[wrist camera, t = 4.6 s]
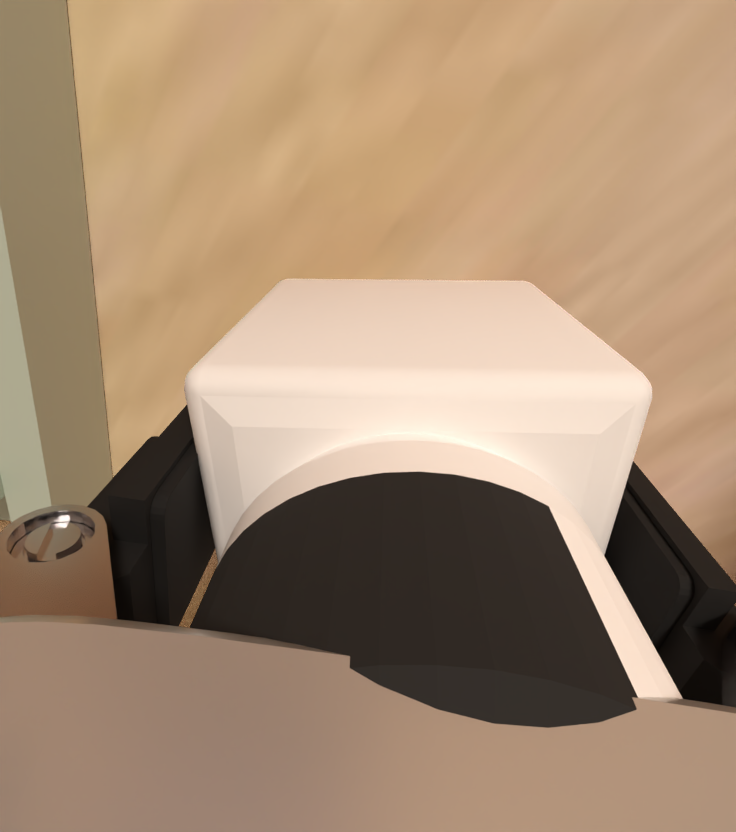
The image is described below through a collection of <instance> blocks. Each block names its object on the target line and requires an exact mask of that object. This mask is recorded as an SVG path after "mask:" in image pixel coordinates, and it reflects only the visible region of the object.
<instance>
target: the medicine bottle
mask: <svg viewBox="0 0 736 832" xmlns="http://www.w3.org/2000/svg"><path fill="white" fill-rule="evenodd" d="M184 391H185V396H186V401H187V406H188V411H189V416H190V421H191V426H192V432H193V437H194V442H195V447H196V452H197V454H198V461H199V467H200V472H201V478H202V483H203V488H204V493H205V498H206V503H207V508H208V513H209V518H210V524H211V529H212V534H213V539H214V544H215V549H216V554H217V559H218V565H217V567H216V569H215V572H214V574H213V576H212V578H211V581H210V583H209V585H208V587H207V590H206V592H205V594H204V597H203V599H202V601H201V603H200V606H199V608H198V610H197V612H196V615H195V617H194V619H193V621H192V624H191V626H190V628H194V629H202V630H210V631H218V632H226V633H234V634H241V635H248V636H255V637H262V638H268V639H272V640H277V641H282V642H287V643H292V644H298V645H302V646H307V647H311V648H316V649H320V650H324V651H328V652H333V653H338V654H343V655H347V656H350V669H352V670H354V671H356V672H357V673H359V674H361V675H362V676H364V677H366V678H368V679H369V680H371V681H373V682H374V683H376V684H378V685H380V686H382V687H385V688H387V689H389V690H392V691H394V692H397V693H399V694H402V695H404V696H407V697H409V698H411V699H414V700H416V701H419V702H421V703H423V704H426V705H428V706H431V707H433V708H435V709H438V710H442V711H446V712H450V713H454V714H458V715H462V716H466V717H470V718H474V719H478V720H482V721H486V722H490V723H494V724H505V725H518V726H531V727H544V728H552V727H561V726H571V725H580V724H590V723H599V722H602V721H605V720H608V719H611V718H614V717H617V716H620V715H623V714H626V713H629V712H632V711H634V710H637V708H636V706H635V703H634V701H633V698H632V697H635V698H641V697H661V698H679V699H683V698H682V696H681V694H680V693H679V691H678V689H677V687H676V685H675V683H674V682H673V680H672V678H671V676H670V674H669V673H668V671H667V669H666V667H665V665H664V664H663V662H662V660H661V658H660V656H659V654H658V653H657V651H656V649H655V647H654V645H653V644H652V642H651V640H650V638H649V636H648V634H647V633H646V631H645V629H644V627H643V625H642V624H641V622H640V620H639V618H638V616H637V615H636V613H635V611H634V609H633V607H632V605H631V604H630V602H629V600H628V598H627V596H626V595H625V593H624V591H623V589H622V587H621V585H620V584H619V582H618V580H617V578H616V576H615V575H614V573H613V571H612V569H611V567H610V566H609V564H608V562H607V560H606V558H605V556H604V555H605V552H606V548H607V545H608V542H609V539H610V535H611V532H612V529H613V525H614V522H615V519H616V515H617V512H618V509H619V506H620V502H621V499H622V496H623V492H624V489H625V486H626V483H627V479H628V476H629V473H630V469H631V466H632V463H633V459H634V456H635V453H636V450H637V446H638V443H639V440H640V436H641V433H642V430H643V427H644V423H645V420H646V417H647V413H648V410H649V407H650V404H651V400H652V387H651V384H650V382H649V380H648V379H647V378H646V377H645V375H644V374H643V373H642V372H641V371H639V370H638V369H637V368H636V367H634V366H633V365H632V364H631V363H629V362H628V361H627V360H626V359H625V358H623V357H622V356H621V355H620V354H618V353H617V352H616V351H615V350H613V349H612V348H611V347H610V346H608V345H607V344H606V343H605V342H603V341H602V340H601V339H600V338H599V337H597V336H596V335H595V334H594V333H592V332H591V331H590V330H589V329H587V328H586V327H585V326H584V325H582V324H581V323H580V322H579V321H577V320H576V319H575V318H574V317H573V316H571V315H570V314H569V313H568V312H566V311H565V310H564V309H563V308H561V307H560V306H559V305H558V304H556V303H555V302H554V301H553V300H551V299H550V298H549V297H548V296H547V295H545V294H544V293H543V292H542V291H540V290H539V289H538V288H537V287H535V286H534V285H533V284H532V283H530V282H526V281H492V280H376V279H284V280H281V281H280V282H279V283H277V284H276V285H275V286H274V287H273V288H272V289H271V290H270V291H269V292H268V293H267V294H266V295H265V296H264V297H263V298H262V299H261V300H260V301H259V302H258V303H257V304H256V305H255V306H254V307H253V308H252V309H251V310H250V311H249V312H248V313H247V314H246V315H245V316H244V317H243V318H242V319H241V320H240V321H239V322H238V323H237V324H236V325H235V326H234V327H233V328H232V329H231V330H230V331H229V332H228V333H227V334H226V335H225V336H224V337H223V338H222V339H221V340H220V341H219V342H218V343H217V344H216V345H215V346H214V347H213V348H212V349H211V350H210V351H209V352H208V353H207V354H205V355H204V356H203V357H202V358H201V359H200V360H199V361H198V362H197V363H196V364H195V365H194V366H193V368H192V369H191V370H190V371H189V372H188V373H187V375H186V379H185V388H184Z"/></svg>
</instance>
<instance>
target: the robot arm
mask: <svg viewBox="0 0 736 832" xmlns="http://www.w3.org/2000/svg"><path fill="white" fill-rule="evenodd" d="M214 549H215V544H214V539H213V534H212V529H211V524H210V518H209V513H208V508H207V503H206V498H205V493H204V488H203V483H202V478H201V472H200V467H199V461H198V454H197V452H196V447H195V442H194V437H193V432H192V426H191V421H190V416H189V411H188V406H187V405H186V406H185V408H184V409H183V410H182V411H181V412H180V413H179V414H178V415H177V417H176V418H175V419H174V420H173V421H172V422H171V423H170V425H169V426H168V427H167V428H166V429H165V430H164V431H163V433H162V434H161V435H160V436H159V437H157V436H154V437H151V438H150V439H148V440H147V441H146V442H145V443H144V444H143V446H142V447H141V448H140V449H139V450H138V451H137V452H136V453H135V454H134V455H133V457H132V458H131V459H130V460H129V461H128V462H127V463H126V464H125V465H124V466H123V468H122V469H121V470H120V471H119V472H118V473H117V474H116V475H115V476H114V477H113V479H112V480H111V481H110V482H109V483H108V484H107V485H106V486H105V487H104V488H103V490H102V491H101V492H100V493H99V494H98V495H97V496H96V497H95V498H94V499H93V501H92V502H91V503H90V504H89V505H88V506H87V507H86V506H82V505H72V504H66V505H54V506H50V507H46V508H41V509H37V510H35V511H32V512H30V513H28V514H25V515H23V516H21V517H19V518H18V519H16V520H14V521H13V522H11V523H10V524H8V525H7V526H6V527H5V528H4V529H3V530H2V531H1V532H0V832H736V607H735V605H734V604H735V603H736V584H735V583H734V582H733V581H732V580H731V578H730V577H729V576H728V575H727V574H726V572H725V571H724V570H723V569H722V568H721V566H720V565H719V564H718V563H717V562H716V560H715V559H714V558H713V557H712V556H711V554H710V553H709V552H708V551H707V550H706V548H705V547H704V546H703V545H702V543H701V542H700V541H699V540H698V539H697V537H696V536H695V535H694V534H693V533H692V531H691V530H690V529H689V528H688V527H687V525H686V524H685V523H684V522H683V521H682V519H681V518H680V517H679V516H678V515H677V513H676V512H675V511H674V510H673V509H672V507H671V506H670V505H669V504H668V502H667V501H666V500H665V499H664V498H663V496H662V495H661V494H660V493H659V492H658V490H657V489H656V488H655V487H654V486H653V484H652V483H651V482H650V481H649V480H648V478H647V477H646V476H645V475H644V474H643V472H642V471H641V470H640V469H639V468H638V466H637V465H636V464H635V463H634V461H633V463H632V466H631V469H630V473H629V476H628V479H627V483H626V486H625V489H624V492H623V496H622V499H621V502H620V506H619V509H618V512H617V515H616V519H615V522H614V525H613V529H612V532H611V535H610V539H609V542H608V545H607V548H606V552H605V555H604V556H605V558H606V560H607V562H608V564H609V566H610V567H611V569H612V571H613V573H614V575H615V576H616V578H617V580H618V582H619V584H620V585H621V587H622V589H623V591H624V593H625V595H626V596H627V598H628V600H629V602H630V604H631V605H632V607H633V609H634V611H635V613H636V615H637V616H638V618H639V620H640V622H641V624H642V625H643V627H644V629H645V631H646V633H647V634H648V636H649V638H650V640H651V642H652V644H653V645H654V647H655V649H656V651H657V653H658V654H659V656H660V658H661V660H662V662H663V664H664V665H665V667H666V669H667V671H668V673H669V674H670V676H671V678H672V680H673V682H674V683H675V685H676V687H677V689H678V691H679V693H680V694H681V696H682V698H683V699H679V698H661V697H641V698H635V697H632V698H633V701H634V703H635V706H636V708H637V710H634V711H632V712H629V713H626V714H623V715H620V716H617V717H614V718H611V719H608V720H605V721H602V722H599V723H590V724H580V725H571V726H561V727H552V728H544V727H531V726H518V725H505V724H494V723H490V722H486V721H482V720H478V719H474V718H470V717H466V716H462V715H458V714H454V713H450V712H446V711H442V710H438V709H435V708H433V707H431V706H428V705H426V704H423V703H421V702H419V701H416V700H414V699H411V698H409V697H407V696H404V695H402V694H399V693H397V692H394V691H392V690H389V689H387V688H385V687H382V686H380V685H378V684H376V683H374V682H373V681H371V680H369V679H368V678H366V677H364V676H362V675H361V674H359V673H357V672H356V671H354V670H352V669H350V656H347V655H343V654H338V653H333V652H328V651H324V650H320V649H316V648H311V647H307V646H302V645H298V644H292V643H287V642H282V641H277V640H272V639H268V638H262V637H255V636H248V635H241V634H234V633H226V632H218V631H210V630H202V629H194V628H186V627H179V624H180V622H181V620H182V618H183V616H184V613H185V611H186V609H187V607H188V605H189V603H190V601H191V599H192V596H193V594H194V592H195V590H196V588H197V586H198V584H199V581H200V579H201V577H202V575H203V573H204V571H205V569H206V567H207V564H208V562H209V560H210V558H211V556H212V554H213V552H214Z"/></svg>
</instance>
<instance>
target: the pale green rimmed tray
mask: <svg viewBox="0 0 736 832" xmlns="http://www.w3.org/2000/svg"><path fill="white" fill-rule="evenodd" d="M112 479H113V478H112V468H111V458H110V447H109V437H108V427H107V416H106V406H105V396H104V385H103V375H102V365H101V354H100V344H99V333H98V323H97V313H96V302H95V292H94V282H93V271H92V261H91V251H90V240H89V230H88V220H87V209H86V199H85V189H84V178H83V168H82V158H81V147H80V137H79V127H78V116H77V106H76V96H75V85H74V75H73V65H72V54H71V44H70V34H69V23H68V13H67V2H66V0H0V520H7V521H11V522H13V521H14V520H16V519H18V518H19V517H21V516H23V515H25V514H28V513H30V512H32V511H35V510H37V509H41V508H46V507H50V506H54V505H66V504H72V505H82V506H86V507H87V506H88V505H89V504H90V503H91V502H92V501H93V499H94V498H95V497H96V496H97V495H98V494H99V493H100V492H101V491H102V490H103V488H104V487H105V486H106V485H107V484H108V483H109V482H110V481H111V480H112Z"/></svg>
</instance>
